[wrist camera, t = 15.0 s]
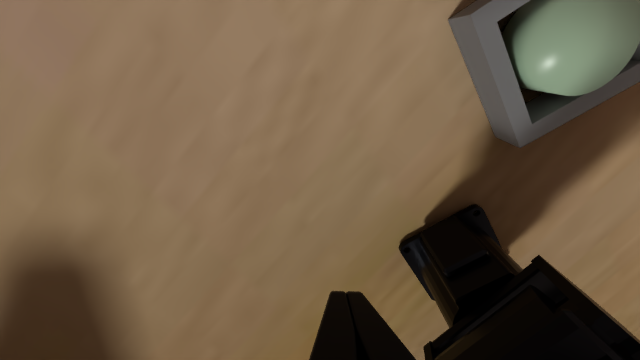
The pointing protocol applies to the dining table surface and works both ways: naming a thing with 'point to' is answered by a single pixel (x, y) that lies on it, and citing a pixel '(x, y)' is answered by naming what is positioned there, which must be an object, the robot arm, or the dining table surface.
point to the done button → (571, 43)
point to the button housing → (501, 84)
